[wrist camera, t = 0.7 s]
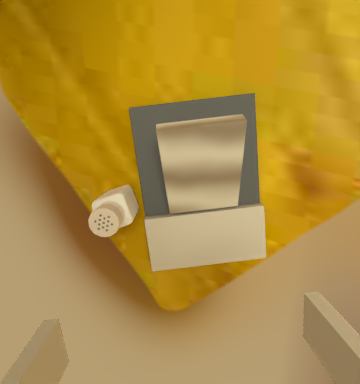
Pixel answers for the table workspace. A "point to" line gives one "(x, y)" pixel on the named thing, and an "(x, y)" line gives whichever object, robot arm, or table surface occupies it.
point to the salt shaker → (113, 211)
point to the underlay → (204, 219)
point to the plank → (202, 162)
